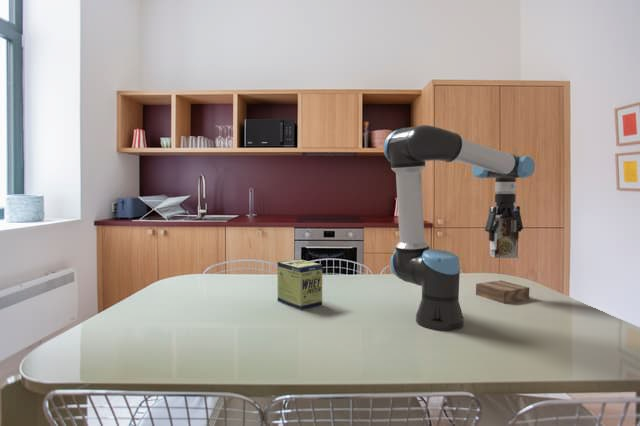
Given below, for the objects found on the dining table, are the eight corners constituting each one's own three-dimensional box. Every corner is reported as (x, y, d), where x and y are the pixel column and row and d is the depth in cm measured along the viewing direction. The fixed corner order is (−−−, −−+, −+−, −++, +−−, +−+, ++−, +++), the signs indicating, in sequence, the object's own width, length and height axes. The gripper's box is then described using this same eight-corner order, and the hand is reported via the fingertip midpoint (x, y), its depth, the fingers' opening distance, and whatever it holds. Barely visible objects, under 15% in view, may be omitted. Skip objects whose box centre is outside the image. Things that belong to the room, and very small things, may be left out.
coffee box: (512, 255, 177) (513, 215, 176) (518, 258, 170) (519, 217, 169) (489, 255, 178) (490, 215, 176) (494, 258, 171) (495, 217, 170)
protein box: (301, 310, 157) (300, 267, 156) (276, 301, 169) (276, 261, 168) (323, 305, 164) (323, 264, 162) (298, 296, 176) (298, 258, 174)
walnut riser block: (503, 304, 166) (504, 291, 166) (475, 295, 178) (476, 283, 178) (528, 300, 172) (529, 287, 172) (500, 291, 185) (500, 280, 184)
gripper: (490, 193, 164) (488, 251, 166) (534, 192, 173) (532, 247, 175) (475, 193, 171) (474, 248, 173) (519, 192, 180) (517, 245, 182)
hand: (503, 248), depth 174 cm, fingers closed on coffee box, 10 cm apart
